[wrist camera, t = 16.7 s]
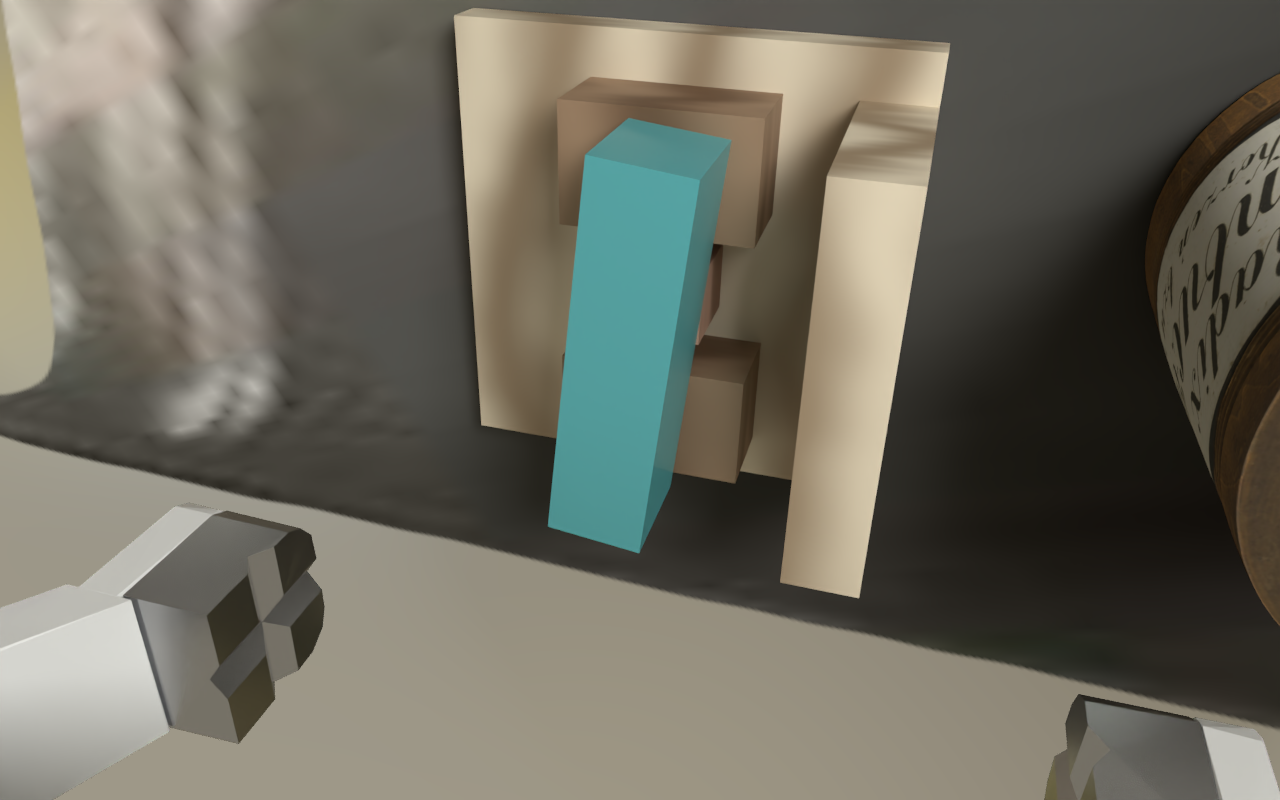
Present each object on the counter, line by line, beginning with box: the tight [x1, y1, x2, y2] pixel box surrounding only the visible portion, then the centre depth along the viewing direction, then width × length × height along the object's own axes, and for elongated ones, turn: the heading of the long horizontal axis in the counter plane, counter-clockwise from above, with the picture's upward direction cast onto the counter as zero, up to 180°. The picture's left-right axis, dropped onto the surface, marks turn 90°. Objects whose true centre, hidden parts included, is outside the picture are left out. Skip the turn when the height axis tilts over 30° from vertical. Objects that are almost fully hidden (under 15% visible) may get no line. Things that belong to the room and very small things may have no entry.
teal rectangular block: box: [548, 118, 731, 553], centre depth 40 cm, size 4×16×5 cm, turn 172°
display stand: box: [454, 8, 950, 598], centre depth 42 cm, size 20×20×12 cm
